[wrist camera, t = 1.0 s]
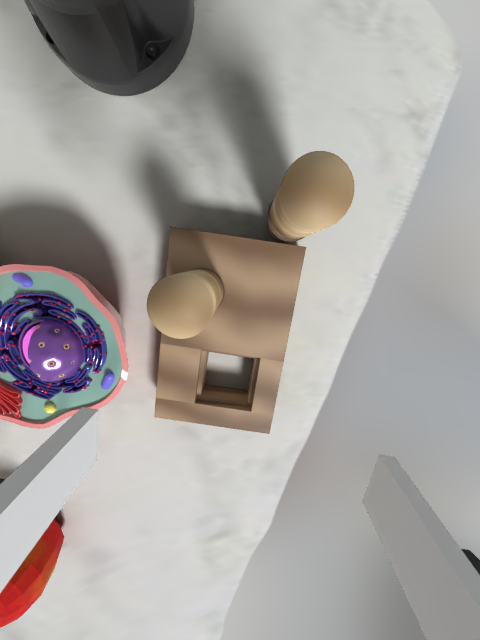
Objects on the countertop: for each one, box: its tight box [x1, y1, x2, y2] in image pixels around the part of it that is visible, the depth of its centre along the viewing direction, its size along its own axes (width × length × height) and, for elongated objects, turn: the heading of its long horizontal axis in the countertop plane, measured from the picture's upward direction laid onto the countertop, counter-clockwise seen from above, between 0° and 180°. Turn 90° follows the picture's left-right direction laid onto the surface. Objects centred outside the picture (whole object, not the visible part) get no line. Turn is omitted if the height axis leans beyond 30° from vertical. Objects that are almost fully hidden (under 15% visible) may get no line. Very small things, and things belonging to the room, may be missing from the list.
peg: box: [267, 151, 354, 242], centre depth 24 cm, size 5×5×14 cm
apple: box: [0, 519, 64, 627], centre depth 36 cm, size 9×9×12 cm
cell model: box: [0, 264, 128, 428], centre depth 29 cm, size 17×20×11 cm
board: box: [147, 227, 306, 434], centre depth 27 cm, size 22×14×14 cm, turn 172°
